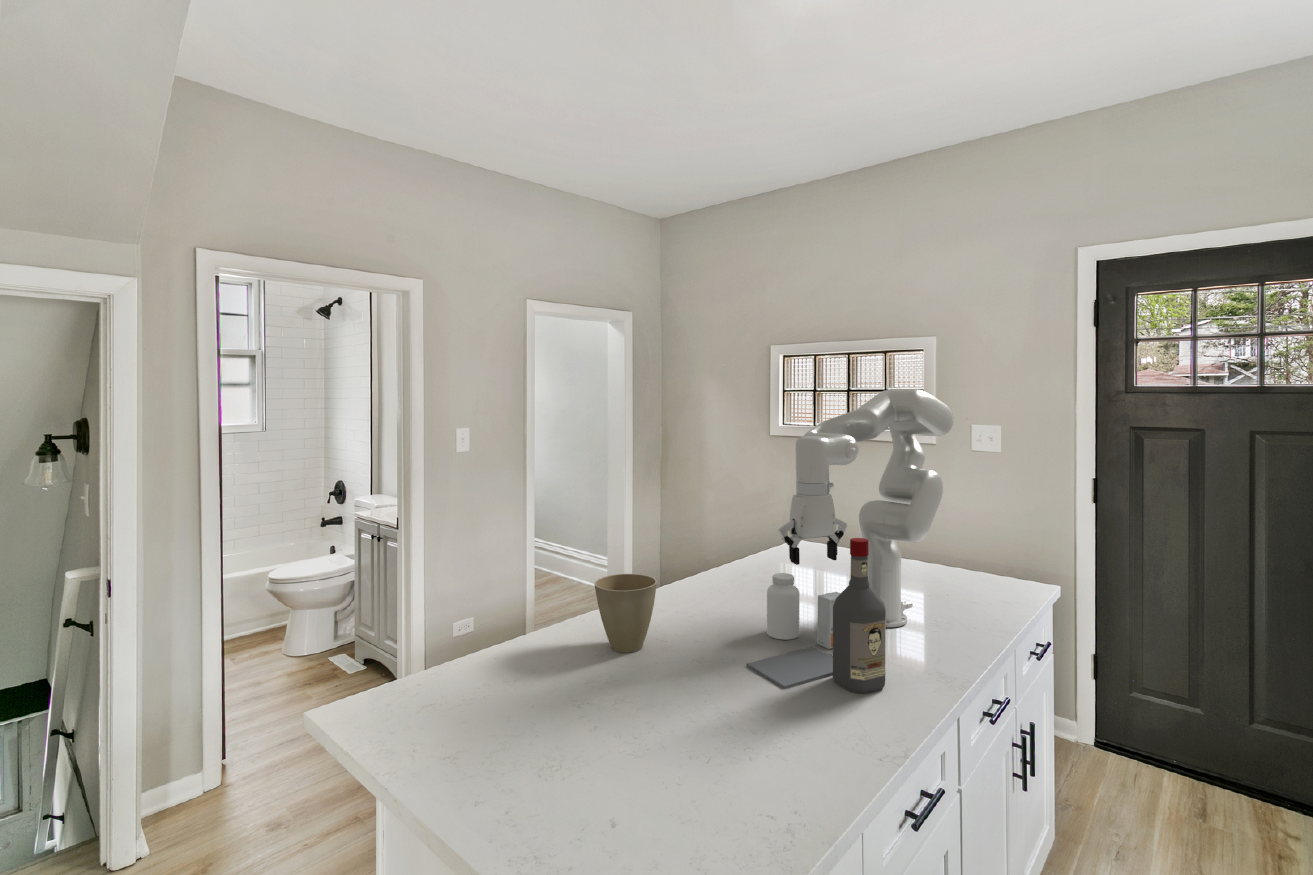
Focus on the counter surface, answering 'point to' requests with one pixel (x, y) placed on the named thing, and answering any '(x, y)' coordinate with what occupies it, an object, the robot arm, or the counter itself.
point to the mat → (795, 667)
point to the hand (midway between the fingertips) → (813, 561)
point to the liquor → (859, 629)
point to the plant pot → (626, 609)
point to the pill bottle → (783, 607)
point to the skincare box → (826, 619)
